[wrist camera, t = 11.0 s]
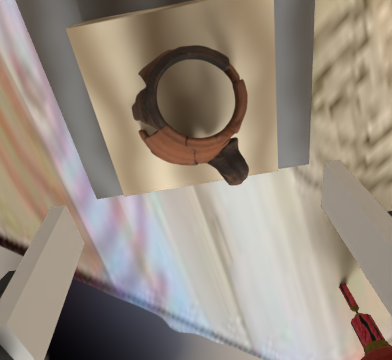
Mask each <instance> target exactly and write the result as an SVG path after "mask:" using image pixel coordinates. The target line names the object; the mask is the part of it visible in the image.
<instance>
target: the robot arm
mask: <svg viewBox="0 0 392 360" xmlns="http://www.w3.org/2000/svg"><path fill="white" fill-rule="evenodd" d="M321 207H322V209H323V210H324V212H325V213H326V215H327V216H328V218H329V220H330V221H331V223H332V224H333V226H334V227H335V229H336V231H337V232H338V234H339V235H340V237H341V238H342V240H343V241H344V243H345V245H346V246H347V248H348V249H349V251H350V252H351V254H352V255H353V257H354V259H355V260H356V262H357V263H358V265H359V266H360V268H361V270H362V271H363V273H364V274H365V276H366V277H367V279H368V280H369V282H370V284H371V285H372V287H373V288H374V290H375V291H376V293H377V294H378V296H379V298H380V299H381V301H382V302H383V304H384V305H385V307H386V309H387V310H388V312H389V313H390V315H391V316H392V211H389V212H387V211H386V210H385V209H384V208H383V207H382V206H381V205H380V204H379V202H378V201H377V200H376V199H375V198H374V197H373V196H372V195H371V194H370V193H369V191H368V190H367V189H366V188H365V187H364V186H363V185H362V184H361V183H360V182H359V181H358V179H357V178H356V177H355V176H354V175H353V174H352V173H351V172H350V171H349V170H348V168H347V167H346V166H345V165H344V164H343V163H342V162H341V161H340V160H335V161H329V162H324V170H323V185H322V200H321ZM83 247H84V242H83V240H82V238H81V236H80V234H79V231H78V229H77V227H76V225H75V223H74V221H73V219H72V217H71V215H70V213H69V211H68V209H67V206H66V205H61V206H55V207H51V208H50V210H49V212H48V214H47V215H46V217H45V219H44V221H43V223H42V224H41V226H40V228H39V230H38V232H37V233H36V235H35V237H34V239H33V241H32V242H31V244H30V246H29V248H28V250H27V251H26V253H25V255H24V257H23V259H22V260H21V262H20V264H19V266H18V268H17V269H16V270H15V271H9V272H8V273H7V274H6V275H5V276H4V277H3V278H2V279H1V280H0V360H44V358H45V355H46V352H47V349H48V346H49V343H50V341H51V338H52V335H53V332H54V329H55V326H56V323H57V321H58V318H59V315H60V312H61V309H62V307H63V304H64V301H65V298H66V295H67V292H68V289H69V286H70V284H71V281H72V278H73V275H74V272H75V269H76V267H77V264H78V261H79V258H80V255H81V252H82V249H83Z"/></svg>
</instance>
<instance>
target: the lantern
mask: <svg viewBox="0 0 392 360" xmlns="http://www.w3.org/2000/svg"><path fill="white" fill-rule="evenodd" d="M339 288H340V290H341V292H342V293H343V295H344V297H345V299H346V301H347V303H348V305H349V307H350V309H351V310H352V311H354V312H356V313H357V314H356V315H355V317H354V318H353V319H352V321H351V324H352V326H353V328H354V330H355V332H356V334H357V336H358V338H359V340H360V342H361V344H362V346H363V348H364V352H365V356H364V357H363V358H362V359H361V360H392V346H391V345H389V344H388V342H387V341H385V339H384V337H383V336H382V334H381V332H380V330H379V329H378V327H377V325H376V324H375V322H374V320H373V318H372V317H371V315H368V314H362V313H358V309H359V307H358V305H357V303H356V302H355V300H354V298H353V296H352V294H351V293H350V291H349V289H348V287H347V286H346V284H342V285H340V286H339Z"/></svg>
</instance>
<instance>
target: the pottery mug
mask: <svg viewBox="0 0 392 360" xmlns="http://www.w3.org/2000/svg"><path fill="white" fill-rule="evenodd" d="M193 59H194V60H203V61H206V62H209V63H211V64H213V65H215V66H216V67H218V68H219V69H221V70H222V71H223V72H224V73H225V74H226V75H227V76H228V77H229V79H230V80H231V82H232V84H233V86H232V87H233V90H234V95H235V108H234V112H233V115H232V118H231V120H230V121H229V123H228V124H227V125H226V126H225V128H224V129H223V130H221V131H220V132H218V133H216V134H214V135H212V136H209V137H204V138H194V137H189V136H186V135H184V134H181V133H179V132H178V131H176V130H174V129H173V128H172V127H171V126H170V125H169V124H168V123H166V121H165V120H164V118H163V117H162V115H161V113H160V110H159V108H158V103H157V87H158V83H159V81H160V79H161V77H162V75H163V74H164V73H165V71H166V70H167V69H168V68H170V67H171V66H172V65H174V64H176V63H178V62H180V61H183V60H193ZM138 74H139V76H141V78H142V79H143V80H144V82H145V84H146V87H145V88H144V89H142V90H141V91H140V92H139V93H138V94H137V96H136V100H135V103H134V104H133V105H132V113H133V118H134V120H136V121H141V122H143V123H145V124H148V125H150V126H152V127H154V128H155V129H157V131H156V132H155V133H153V134H152V135H150V136H149V135H148V133H147V131H146V130H142V129H141V130H139V135H140V137H141V139H142V140H143V142H144V143H145V144H146V146H147V147H148V148H149V149H150V151H151V153H152V154H154V155H155V156H157V157H158V158H160V159H162V160H164V161H166V162H169V163H172V164H178V165H186V166H195V165H198V164H199V163H200V164H202V163H207V164H209V165H211V166H212V167H214V168H215V169H217V170H218V172H219V173H220V175H221V176H222V177H223V178H224V179H225V180H226V182H227V183H228V184H229V185H239V184H241V183H242V182H243V181H244V180H245V179H246V178H247V176H248V173H249V167H248V164H247V163H246V161H245V159H244V157H243V156H242V154H241V153H240V151H239V148H238V138H237V137H234V138H231V137H232V136H233V135H234V134H235V133H236V134H237V133H238V132H239V130H240V127H241V124H242V121H243V119H244V117H245V114H246V111H247V103H248V100H247V97H248V94H247V90H246V86H245V82H244V80H243V79H241V80H240V76H239V74H238V73H237V71H236V70H235V68H234V67H233V66H232V65H231V64H230V62H229V58H228V57H227V56H226V55H224V54H222V53H221V52H219V51H217V50H213V49H211V48H209V47H205V46H200V45H193V46H181V47H177V48H176V49H174V50H167V51H165V52H164V53H162V54H160V55H159V56H158V57H156V58H155V59H154V60H153V61H152V62H150V63H149V64H148V65H146V66H145V67H143V68H142V69H141V71H140V72H139V73H138Z"/></svg>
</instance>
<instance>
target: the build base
mask: <svg viewBox="0 0 392 360" xmlns="http://www.w3.org/2000/svg"><path fill="white" fill-rule="evenodd" d="M16 3H17V5H18V7H19V10H20V12H21V15H22V17H23V20H24V22H25V25H26V27H27V29H28V32H29V34H30V37H31V39H32V42H33V44H34V47H35V49H36V51H37V54H38V56H39V59H40V61H41V64H42V66H43V68H44V71H45V73H46V76H47V78H48V81H49V83H50V86H51V88H52V90H53V93H54V95H55V98H56V100H57V103H58V105H59V107H60V110H61V112H62V115H63V117H64V120H65V122H66V125H67V127H68V129H69V132H70V134H71V137H72V139H73V142H74V144H75V147H76V149H77V151H78V154H79V156H80V159H81V161H82V164H83V166H84V168H85V171H86V173H87V176H88V178H89V181H90V183H91V186H92V188H93V190H94V193H95V195H96V198H97V199H101V198H107V197H113V196H119V195H124V196H130V195H136V194H142V193H148V192H154V191H160V190H166V189H172V188H178V187H184V186H190V185H196V184H202V183H208V182H214V181H220V180H225V179H224V178H223V177H222V176H221V175H220V173H219V172H218V170H217V169H215V168H214V167H212V166H211V165H209V164H207V163H202V164H200V163H199V164H198V165H195V166H186V165H178V164H172V163H169V162H166V161H164V160H162V159H160V158H158V157H157V156H155V155H154V154H152V153H151V151H150V149H149V148H148V147H147V146H146V144H145V143H144V142H143V140H142V139H141V137H140V135H139V130H141V129H142V130H146V131H147V133H148V135H149V136H150V135H152V134H153V133H155V132H156V131H157V129H155V128H154V127H152V126H150V125H148V124H145V123H143V122H141V121H136V120H134V118H133V113H132V105H133V104H134V103H135V100H136V96H137V94H138V93H139V92H140V91H141V90H142V89H144V88H145V87H146V84H145V82H144V80H143V79H142V78H141V76H139V74H138V73H139V72H140V71H141V69H142V68H143V67H145V66H146V65H148V64H149V63H150V62H152V61H153V60H154V59H155V58H156V57H158V56H159V55H160V54H162V53H164V52H165V51H167V50H174V49H176V48H177V47H181V46H193V45H200V46H205V47H209V48H211V49H213V50H217V51H219V52H221V53H222V54H224V55H226V56H227V57H228V58H229V62H230V64H231V65H232V66H233V67H234V68H235V70H236V71H237V73H238V74H239V76H240V80H241V79H243V80H244V82H245V86H246V90H247V94H248V97H247V100H248V103H247V111H246V114H245V117H244V119H243V121H242V124H241V127H240V130H239V132H238V133H237V134H236V133H235V134H234V135H233V136H232V137H231V138H234V137H237V138H238V148H239V151H240V153H241V154H242V156H243V157H244V159H245V161H246V163H247V164H248V167H249V173H248V176H250V175H256V174H262V173H269V172H275V171H278V169H282V168H288V167H294V166H300V165H306V164H309V147H310V119H311V91H312V64H313V36H314V8H315V0H16ZM232 86H233V84H232V82H231V80H230V79H229V77H228V76H227V75H226V74H225V73H224V72H223V71H222V70H221V69H219V68H218V67H216V66H215V65H213V64H211V63H209V62H206V61H203V60H194V59H193V60H183V61H180V62H178V63H176V64H174V65H172V66H171V67H170V68H168V69H167V70H166V71H165V73H164V74H163V75H162V77H161V79H160V81H159V83H158V87H157V103H158V108H159V110H160V113H161V115H162V117H163V118H164V120H165V121H166V123H168V124H169V125H170V126H171V127H172V128H173V129H174V130H176V131H178V132H179V133H181V134H184V135H186V136H189V137H194V138H204V137H209V136H212V135H214V134H216V133H218V132H220V131H221V130H223V129H224V128H225V126H226V125H227V124H228V123H229V121H230V120H231V118H232V115H233V112H234V108H235V95H234V90H233V87H232Z"/></svg>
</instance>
